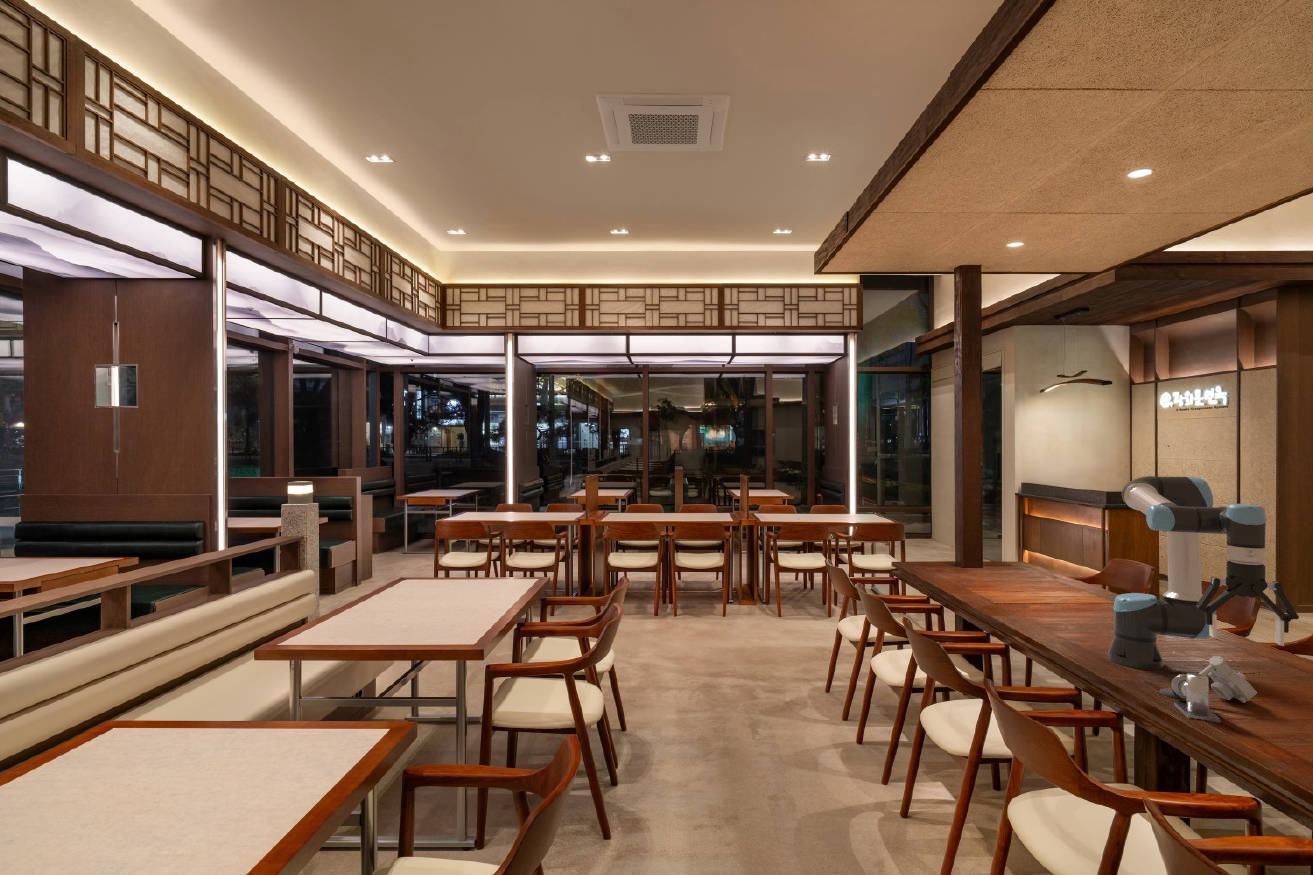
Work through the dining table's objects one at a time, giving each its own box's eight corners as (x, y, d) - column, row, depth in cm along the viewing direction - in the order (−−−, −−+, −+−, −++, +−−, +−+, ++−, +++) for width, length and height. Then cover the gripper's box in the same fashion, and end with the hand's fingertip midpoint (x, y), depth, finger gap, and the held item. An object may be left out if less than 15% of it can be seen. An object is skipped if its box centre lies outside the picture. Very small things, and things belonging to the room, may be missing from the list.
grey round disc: (1157, 690, 187) (1157, 687, 187) (1181, 693, 185) (1181, 690, 185) (1163, 697, 182) (1163, 694, 182) (1188, 701, 179) (1188, 698, 179)
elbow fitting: (1170, 702, 178) (1170, 664, 178) (1200, 706, 175) (1200, 668, 175) (1188, 719, 167) (1188, 679, 167) (1220, 723, 165) (1220, 682, 165)
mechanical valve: (1266, 699, 174) (1236, 659, 174) (1217, 737, 174) (1187, 698, 174) (1231, 682, 185) (1202, 645, 184) (1185, 719, 185) (1156, 682, 184)
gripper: (1191, 560, 166) (1191, 638, 166) (1316, 568, 155) (1316, 651, 155) (1181, 555, 172) (1181, 630, 172) (1301, 563, 161) (1301, 642, 162)
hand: (1245, 640), depth 164 cm, fingers open, 13 cm apart
